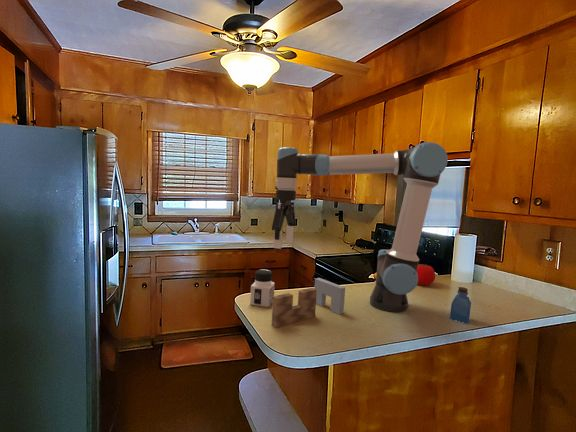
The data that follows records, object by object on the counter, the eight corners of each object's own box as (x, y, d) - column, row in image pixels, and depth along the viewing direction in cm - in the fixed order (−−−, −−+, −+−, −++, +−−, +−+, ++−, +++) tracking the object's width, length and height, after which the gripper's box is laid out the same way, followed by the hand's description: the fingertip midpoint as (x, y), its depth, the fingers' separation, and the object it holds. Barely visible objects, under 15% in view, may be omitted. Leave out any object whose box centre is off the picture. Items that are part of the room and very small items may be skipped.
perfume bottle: (468, 323, 124) (471, 292, 122) (449, 319, 127) (453, 288, 126) (469, 318, 129) (472, 288, 128) (451, 314, 132) (454, 284, 131)
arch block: (313, 302, 136) (315, 278, 135) (317, 301, 138) (319, 277, 137) (339, 314, 126) (341, 288, 125) (343, 313, 127) (345, 287, 126)
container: (269, 307, 129) (270, 274, 127) (249, 304, 130) (251, 272, 129) (273, 300, 136) (275, 269, 135) (255, 298, 138) (257, 267, 136)
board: (310, 313, 125) (312, 287, 124) (315, 316, 123) (316, 289, 122) (271, 325, 113) (273, 296, 112) (275, 327, 112) (277, 298, 110)
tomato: (432, 289, 163) (434, 268, 162) (406, 284, 169) (408, 263, 168) (436, 284, 172) (438, 264, 171) (411, 279, 179) (413, 260, 178)
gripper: (287, 188, 139) (285, 239, 142) (263, 189, 116) (261, 249, 118) (304, 189, 137) (302, 240, 139) (284, 190, 113) (281, 252, 116)
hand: (283, 245), depth 129 cm, fingers open, 13 cm apart
